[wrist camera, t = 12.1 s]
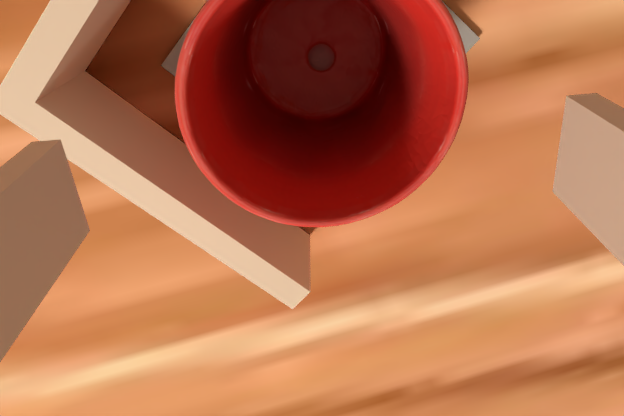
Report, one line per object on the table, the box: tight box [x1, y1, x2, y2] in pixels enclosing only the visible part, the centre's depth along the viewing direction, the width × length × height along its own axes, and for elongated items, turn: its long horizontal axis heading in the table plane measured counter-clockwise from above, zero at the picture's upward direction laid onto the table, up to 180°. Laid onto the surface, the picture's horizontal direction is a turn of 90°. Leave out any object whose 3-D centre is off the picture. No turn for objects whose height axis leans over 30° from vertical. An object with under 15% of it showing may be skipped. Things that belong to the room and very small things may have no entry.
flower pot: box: [175, 0, 468, 227], centre depth 24 cm, size 11×11×10 cm
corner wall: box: [0, 0, 310, 309], centre depth 26 cm, size 18×18×6 cm
